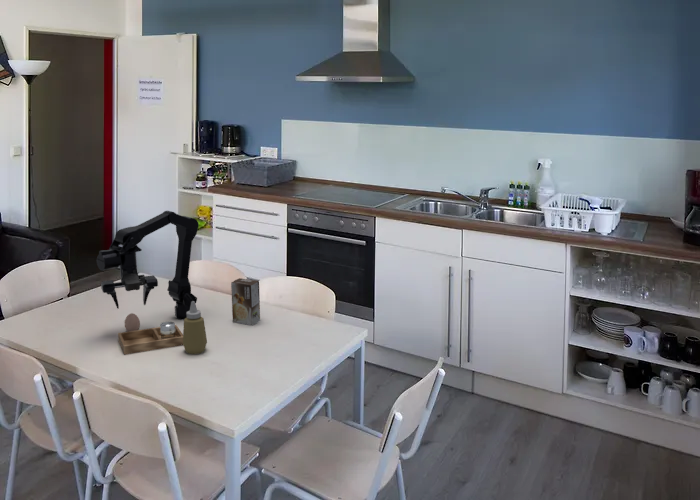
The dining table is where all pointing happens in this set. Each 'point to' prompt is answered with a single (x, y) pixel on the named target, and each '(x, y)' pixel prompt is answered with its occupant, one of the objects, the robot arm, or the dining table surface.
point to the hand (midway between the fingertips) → (131, 306)
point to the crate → (147, 340)
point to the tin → (167, 330)
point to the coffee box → (245, 301)
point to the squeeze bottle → (194, 331)
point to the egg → (132, 322)
